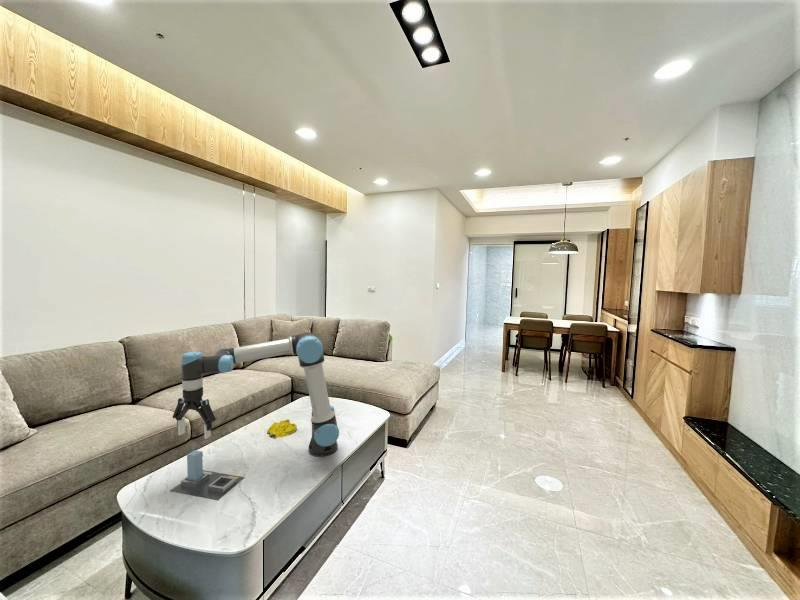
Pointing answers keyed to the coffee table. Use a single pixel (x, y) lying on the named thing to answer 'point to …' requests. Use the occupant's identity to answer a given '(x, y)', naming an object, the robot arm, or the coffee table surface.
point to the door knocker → (282, 428)
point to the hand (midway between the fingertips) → (194, 435)
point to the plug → (195, 465)
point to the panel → (208, 485)
